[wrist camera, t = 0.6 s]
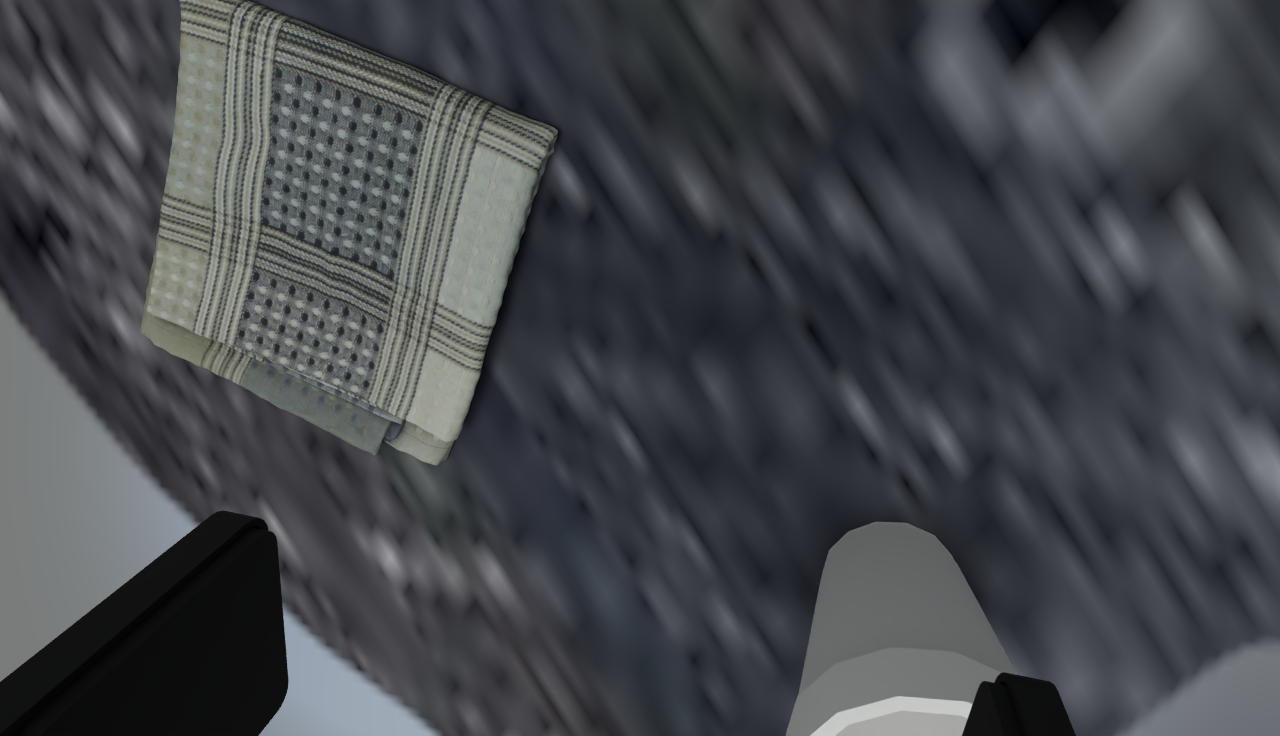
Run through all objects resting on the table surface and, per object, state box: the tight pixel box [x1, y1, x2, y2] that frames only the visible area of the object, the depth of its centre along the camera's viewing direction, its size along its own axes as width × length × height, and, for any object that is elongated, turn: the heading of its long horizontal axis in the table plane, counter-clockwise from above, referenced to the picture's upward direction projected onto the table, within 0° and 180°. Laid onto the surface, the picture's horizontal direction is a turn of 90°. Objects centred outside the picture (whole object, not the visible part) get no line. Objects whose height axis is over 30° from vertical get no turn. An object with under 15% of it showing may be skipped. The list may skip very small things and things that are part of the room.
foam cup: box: [786, 522, 1017, 736], centre depth 34 cm, size 10×9×13 cm
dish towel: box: [141, 0, 558, 465], centre depth 38 cm, size 19×18×3 cm
